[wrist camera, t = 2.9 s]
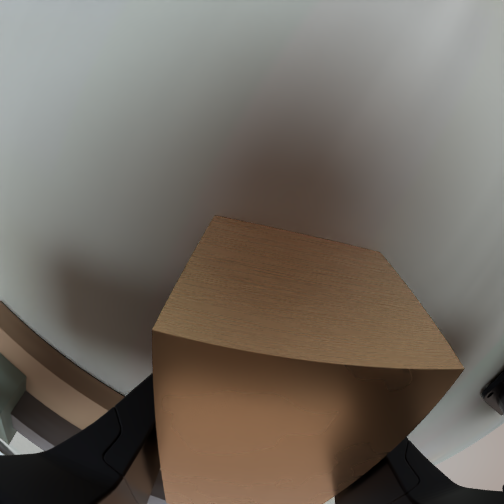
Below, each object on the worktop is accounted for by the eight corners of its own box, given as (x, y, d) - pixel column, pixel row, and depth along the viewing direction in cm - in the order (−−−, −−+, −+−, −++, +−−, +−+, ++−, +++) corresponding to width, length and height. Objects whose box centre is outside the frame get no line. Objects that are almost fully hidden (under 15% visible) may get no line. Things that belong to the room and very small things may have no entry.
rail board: (308, 470, 14) (311, 525, 10) (211, 502, 18) (206, 539, 14) (-1, 300, 10) (-50, 349, 6) (4, 392, 14) (-19, 426, 10)
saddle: (379, 252, 8) (464, 369, 4) (295, 424, 12) (299, 517, 7) (214, 215, 8) (151, 329, 3) (188, 407, 12) (166, 503, 7)
